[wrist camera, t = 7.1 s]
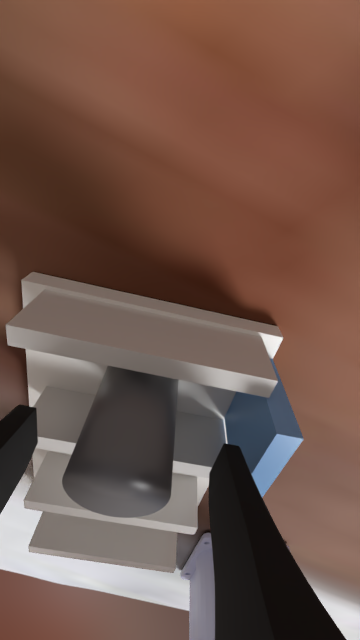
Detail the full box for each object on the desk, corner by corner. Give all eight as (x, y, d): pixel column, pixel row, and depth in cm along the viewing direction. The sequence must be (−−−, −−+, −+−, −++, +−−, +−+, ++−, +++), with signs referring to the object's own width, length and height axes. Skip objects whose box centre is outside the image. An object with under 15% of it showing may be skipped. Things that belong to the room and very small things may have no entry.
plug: (170, 401, 16) (159, 524, 10) (106, 388, 15) (61, 508, 10) (186, 350, 14) (182, 468, 9) (113, 334, 13) (63, 446, 8)
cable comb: (187, 514, 24) (185, 605, 19) (41, 490, 23) (1, 579, 18) (277, 326, 14) (321, 414, 9) (32, 271, 13) (-59, 338, 8)
